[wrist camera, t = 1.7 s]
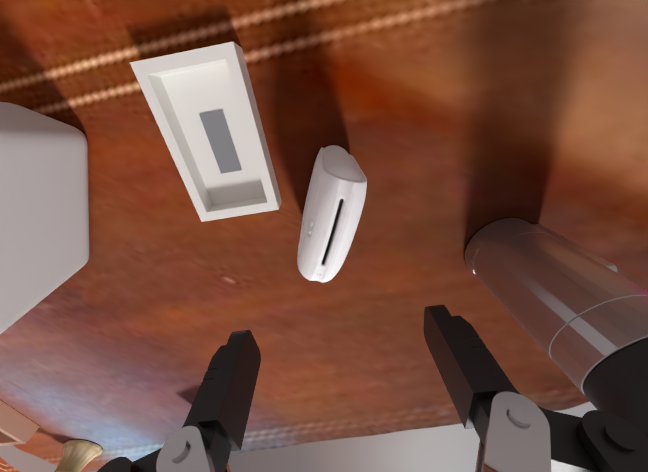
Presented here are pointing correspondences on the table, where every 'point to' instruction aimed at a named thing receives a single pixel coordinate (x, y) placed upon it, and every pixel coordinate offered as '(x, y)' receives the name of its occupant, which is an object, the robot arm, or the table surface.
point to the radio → (39, 208)
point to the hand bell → (77, 455)
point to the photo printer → (330, 213)
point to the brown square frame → (14, 426)
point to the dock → (212, 129)
